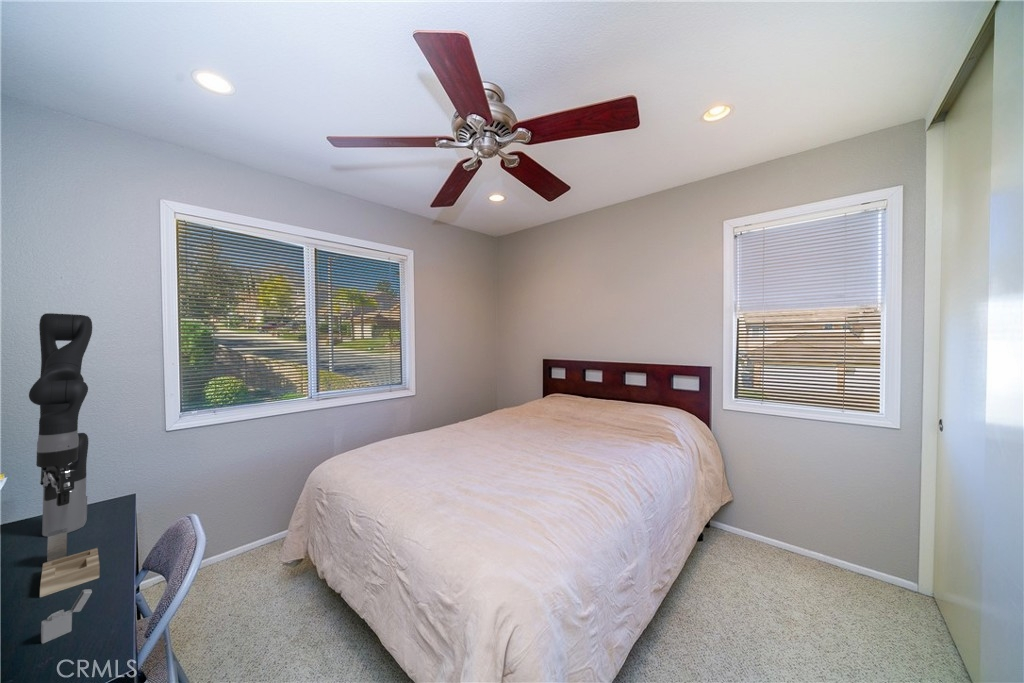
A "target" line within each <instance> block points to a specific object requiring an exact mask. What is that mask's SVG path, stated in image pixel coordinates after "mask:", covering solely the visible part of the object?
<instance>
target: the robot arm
mask: <svg viewBox="0 0 1024 683" xmlns="http://www.w3.org/2000/svg"><path fill="white" fill-rule="evenodd" d="M39 319H40V320H39V324H38V325H39V327H38V328H39V329H38V330H39V342H40V344H39V346H40V360H41V362H40V374H39V375H40V377H39V378H38V379H37V380H36V381H35V382H34V384H33V385H32V386H31V388H30V389H29V393H28V399H29V400H30V402H32V404H35V405H36V406H39V410H40V411H39V414H40V415H39V420H38V434H37V435H38V437H37V440H36V464H35V465H36V467H38V468H40V469H41V470H40V482H39V484H40V486H42V523H41V524H42V525H41V526H42V527H41V535H42V536H43V537H47V538H48V532H52V531H56V530H60V529H64V528H67V534H69V533H72V532H75V531H77V530H79V529H81V528H83V527H84V526H85V525H86V522H87V520H88V518H87V517H88V496H87V460H88V451H89V436H88V435H87V433H85V432H79V429H78V424H79V414H80V410H81V408H82V405H83V403H84V401H85V398H86V396H87V395H88V393H89V386H88V384H87V383H86V382H85V381H84V377H83V375H82V374H81V373H82V365H83V364H82V363H83V358H84V356H85V353H86V351H87V349H88V345H89V343H90V341H91V339H92V338H91V337H92V334H93V322H92V319H91V317H90V316H89V315H85V314H84V315H83V314H73V313H70V314H69V313H54V312H53V313H52V312H50V313H44V314H42V315H41V316H40V318H39ZM58 341H59V342H62V341H63V342H69V343H66V344H65V345H63V346H61V347H58V346H57V345H58V344H57V343H56V342H58Z"/></svg>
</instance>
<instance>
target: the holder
mask: <svg viewBox="0 0 1024 683" xmlns="http://www.w3.org/2000/svg"><path fill="white" fill-rule="evenodd" d="M99 578H100V559H99V549H98V547H95V548H92V549H87V550H84V551H82V552H78V553H74V554H71V555H68V556H67V555H66V557H64V558H60V559H57V560H53V561H50V562H47V561H46V562H44V563H42V569H41V577H40V584H39V585H40V586H39V598H43V597H46V596H49V595H52V594H54V593H57V592H60V591H63V590H67V589H71V588H73V587H75V586H79V585H82V584H85V583H88V582H91V581H93V580H97V579H99Z"/></svg>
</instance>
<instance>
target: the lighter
mask: <svg viewBox="0 0 1024 683" xmlns="http://www.w3.org/2000/svg"><path fill="white" fill-rule="evenodd" d="M92 593H93V590H92V589H91V588H90V589H89V588H88V589H86V588H85V589H82V591H81V593H80V594H79V595H78V597H77V598H76V599H75V602H74V603H73V605H72V607H71V609H69V610H67V611H65V609H61V610H57V611H56V612H53V613H51V614H50V615H49V616H47V618H46V619H44V620H42V621H40V622H41V623H40V624H41V625H40V626H41V627H40V628H41V630H40V642H41V644H42V645H43V644H45V643H47V642H50V641H52V640H55V639H57V638H59V637H61V636H64V635H66V634H68V633H71V632H72V631H73V630H72V629H73V628H72V627H73V613H79V612H81V611H82V609H84V607H85V605H86V603H87V601H88V600H89V599H90V596H91V594H92Z"/></svg>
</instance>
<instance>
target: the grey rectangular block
mask: <svg viewBox="0 0 1024 683" xmlns="http://www.w3.org/2000/svg"><path fill="white" fill-rule="evenodd" d="M67 544H68V533H67V528H64V529H60V530H56V531H52V532H48V537H47V549H46V550H47V551H46V552H47V553H46V562H50V561H53V560H57V559H60V558H64V557H67V554H68V553H67V548H68V547H67V546H68V545H67Z"/></svg>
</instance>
